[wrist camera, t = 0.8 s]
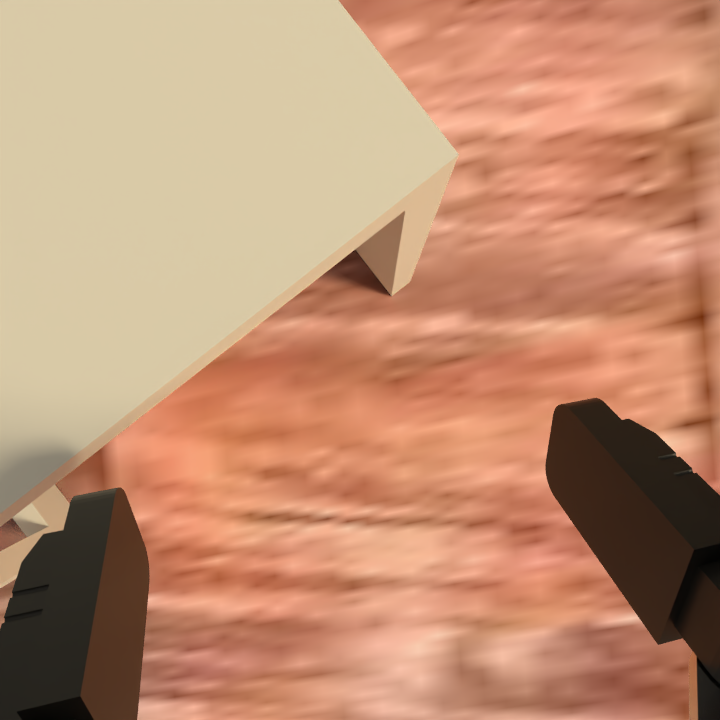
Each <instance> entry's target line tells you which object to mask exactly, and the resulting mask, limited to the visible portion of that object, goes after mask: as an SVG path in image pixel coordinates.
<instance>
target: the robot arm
mask: <svg viewBox="0 0 720 720" xmlns="http://www.w3.org/2000/svg"><path fill="white" fill-rule="evenodd" d="M546 476H547V480H548V484H549V487H550V489H551V491H552V493H553V495H554V497H555V498H556V499H557V501H558V502H559V504H560V505H561V507H562V508H563V510H564V511H565V512H566V514H567V515H568V517H569V518H570V520H571V521H572V522H573V524H574V525H575V527H576V528H577V530H578V531H579V532H580V534H581V535H582V537H583V538H584V540H585V541H586V542H587V544H588V545H589V547H590V548H591V550H592V551H593V552H594V554H595V555H596V557H597V558H598V560H599V561H600V562H601V564H602V565H603V567H604V568H605V570H606V571H607V572H608V574H609V575H610V577H611V578H612V580H613V581H614V582H615V584H616V585H617V587H618V588H619V590H620V591H621V592H622V594H623V595H624V597H625V598H626V600H627V601H628V602H629V604H630V605H631V607H632V608H633V610H634V611H635V612H636V614H637V615H638V617H639V618H640V620H641V621H642V622H643V624H644V625H645V627H646V628H647V630H648V631H649V632H650V634H651V635H652V637H653V638H654V640H655V641H656V642H657V644H658V645H659V644H663V643H667V642H670V641H674V640H678V639H681V638H683V639H684V640H685V641H686V643H687V644H688V645H689V647H690V648H691V649H692V653H691V655H690V658H689V720H720V495H719V494H718V493H717V492H716V491H715V490H713V489H712V488H711V487H710V486H709V485H708V484H707V483H706V482H705V481H704V480H703V479H702V478H701V477H700V476H699V475H698V474H697V473H693V472H692V468H691V467H690V466H689V465H688V464H687V463H686V462H685V461H684V460H683V459H682V458H681V457H677V456H676V453H675V452H674V451H673V450H672V449H671V448H670V447H669V446H668V445H667V444H666V443H665V442H664V441H663V440H662V439H661V438H660V437H659V436H658V435H657V434H656V433H654V432H652V431H650V430H649V429H647V428H645V427H643V426H641V425H639V424H638V423H636V422H634V421H632V420H630V419H625V420H621V419H620V418H619V417H618V416H617V415H616V414H615V413H614V412H613V411H612V410H611V409H610V408H609V407H608V406H607V405H606V404H605V403H604V402H603V401H602V400H600V399H598V398H592V399H587V400H582V401H576V402H571V403H566V404H561V405H558V406H557V407H556V408H555V411H554V414H553V420H552V426H551V433H550V439H549V446H548V452H547V458H546ZM148 591H149V563H148V556H147V551H146V548H145V544H144V542H143V539H142V536H141V534H140V531H139V528H138V526H137V523H136V520H135V518H134V515H133V512H132V510H131V507H130V504H129V502H128V499H127V496H126V494H125V492H124V490H123V489H122V488H114V489H109V490H103V491H98V492H93V493H88V494H83V495H77V496H74V497H73V498H72V500H71V502H70V506H69V509H68V513H67V517H66V521H65V525H64V529H63V530H61V531H56V532H51V533H46V534H43V535H42V536H41V537H40V539H39V540H38V541H37V543H36V544H35V545H34V547H33V548H32V549H31V551H30V552H29V553H28V554H27V556H26V557H25V558H24V560H23V561H22V562H21V566H20V569H19V572H18V575H17V578H16V581H15V585H14V588H13V591H12V593H13V597H12V598H10V600H9V603H8V607H7V610H6V613H5V616H4V618H5V623H3V624H2V626H1V629H0V720H137V714H138V703H139V692H140V681H141V669H142V658H143V647H144V636H145V625H146V614H147V602H148Z"/></svg>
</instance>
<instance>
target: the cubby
mask: <svg viewBox="0 0 720 720" xmlns="http://www.w3.org/2000/svg"><path fill="white" fill-rule="evenodd" d="M458 155H459V154H458V153H457V152H456V150H455V149H454V148H453V146H452V145H451V144H450V143H449V141H448V140H447V139H446V137H445V136H444V135H443V134H442V132H441V131H440V130H439V128H438V127H437V126H436V125H435V123H434V122H433V121H432V120H431V118H430V117H429V116H428V114H427V113H426V112H425V111H424V109H423V108H422V107H421V105H420V104H419V103H418V102H417V100H416V99H415V98H414V96H413V95H412V94H411V93H410V91H409V90H408V89H407V88H406V86H405V85H404V84H403V82H402V81H401V80H400V79H399V77H398V76H397V75H396V73H395V72H394V71H393V70H392V68H391V67H390V66H389V65H388V63H387V62H386V61H385V59H384V58H383V57H382V56H381V54H380V53H379V52H378V50H377V49H376V48H375V47H374V45H373V44H372V43H371V41H370V40H369V39H368V38H367V36H366V35H365V34H364V33H363V31H362V30H361V29H360V27H359V26H358V25H357V24H356V22H355V21H354V20H353V18H352V17H351V16H350V15H349V13H348V12H347V11H346V10H345V8H344V7H343V6H342V4H341V3H340V2H339V1H338V0H0V527H1V526H2V525H3V524H5V523H6V522H7V521H9V520H10V519H11V518H13V519H14V521H15V522H16V523H17V525H18V526H19V527H20V529H21V530H22V531H23V533H24V534H25V535H26V537H27V538H25V539H23V540H21V541H19V542H17V543H16V544H14V545H12V546H10V547H8V548H6V549H4V550H2V551H0V588H1V587H3V586H5V585H6V584H8V583H10V582H11V581H13V580H14V579H16V578H17V575H18V572H19V569H20V566H21V562H22V561H23V560H24V558H25V557H26V556H27V554H28V553H29V552H30V551H31V549H32V548H33V547H34V545H35V544H36V543H37V541H38V540H39V539H40V537H41V536H42V535H43V534H46V533H51V532H56V531H61V530H63V529H64V525H65V521H66V517H67V513H68V509H69V506H70V504H69V502H68V501H67V500H66V499H65V497H64V496H63V495H62V493H61V492H60V491H59V489H58V488H57V487H56V485H55V484H56V483H57V482H58V481H60V480H61V479H62V478H64V477H65V476H66V475H67V474H69V473H70V472H71V471H72V470H74V469H75V468H76V467H78V466H79V465H80V464H81V463H83V462H84V461H85V460H87V459H88V458H89V457H90V456H92V455H93V454H94V453H95V452H97V451H98V450H99V449H101V448H102V447H103V446H104V445H106V444H107V443H108V442H110V441H111V440H112V439H113V438H115V437H116V436H117V435H118V434H120V433H121V432H122V431H124V430H125V429H126V428H127V427H129V426H130V425H131V424H133V423H134V422H135V421H136V420H138V419H139V418H140V417H142V416H143V415H144V414H145V413H147V412H148V411H149V410H150V409H152V408H153V407H154V406H156V405H157V404H158V403H159V402H161V401H162V400H163V399H165V398H166V397H167V396H168V395H170V394H171V393H172V392H173V391H175V390H176V389H177V388H179V387H180V386H181V385H182V384H184V383H185V382H186V381H188V380H189V379H190V378H191V377H193V376H194V375H195V374H196V373H198V372H199V371H200V370H202V369H203V368H204V367H205V366H207V365H208V364H209V363H211V362H212V361H213V360H214V359H216V358H217V357H218V356H220V355H221V354H222V353H223V352H225V351H226V350H227V349H228V348H230V347H231V346H232V345H234V344H235V343H236V342H237V341H239V340H240V339H241V338H243V337H244V336H245V335H246V334H248V333H249V332H250V331H251V330H253V329H254V328H255V327H257V326H258V325H259V324H260V323H262V322H263V321H264V320H266V319H267V318H268V317H269V316H271V315H272V314H273V313H274V312H276V311H277V310H278V309H280V308H281V307H282V306H283V305H285V304H286V303H287V302H289V301H290V300H291V299H292V298H294V297H295V296H296V295H297V294H299V293H300V292H301V291H303V290H304V289H305V288H306V287H308V286H309V285H310V284H312V283H313V282H314V281H315V280H317V279H318V278H319V277H321V276H322V275H323V274H324V273H326V272H327V271H328V270H329V269H331V268H332V267H333V266H335V265H336V264H337V263H338V262H340V261H341V260H342V259H344V258H345V257H346V256H347V255H349V254H350V253H351V252H352V251H354V250H356V251H357V253H358V254H359V255H360V256H361V258H362V259H363V260H364V262H365V263H366V264H367V265H368V267H369V268H370V269H371V271H372V272H373V273H374V274H375V276H376V277H377V278H378V280H379V281H380V282H381V284H382V285H383V286H384V287H385V289H386V290H387V291H388V293H389V294H390V295H391V296H392V295H394V294H395V293H396V292H398V291H399V290H400V289H401V288H403V287H404V286H405V285H407V284H408V283H409V282H410V281H411V278H412V275H413V273H414V270H415V267H416V265H417V262H418V260H419V257H420V254H421V252H422V249H423V247H424V244H425V241H426V239H427V236H428V234H429V231H430V228H431V226H432V223H433V221H434V218H435V215H436V213H437V210H438V208H439V205H440V202H441V200H442V197H443V195H444V192H445V189H446V187H447V184H448V181H449V179H450V176H451V174H452V171H453V168H454V166H455V163H456V161H457V158H458Z"/></svg>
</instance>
